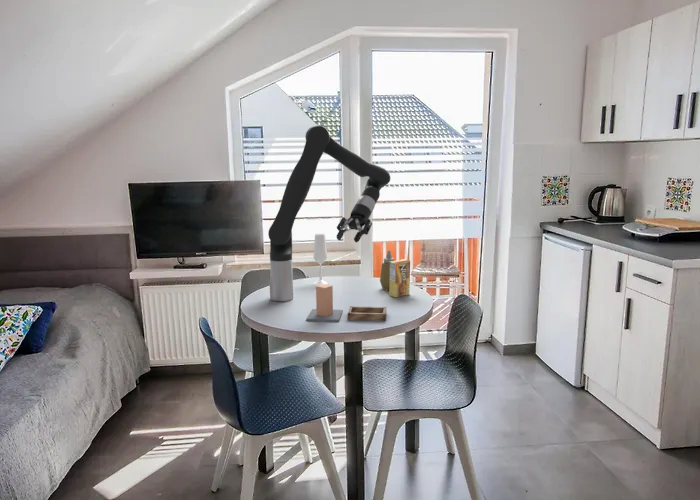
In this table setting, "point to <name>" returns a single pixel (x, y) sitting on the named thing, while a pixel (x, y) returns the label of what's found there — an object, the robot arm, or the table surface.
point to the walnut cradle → (367, 313)
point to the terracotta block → (324, 300)
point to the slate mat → (331, 318)
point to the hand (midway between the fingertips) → (346, 240)
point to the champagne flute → (320, 254)
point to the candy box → (399, 278)
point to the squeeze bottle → (386, 271)
